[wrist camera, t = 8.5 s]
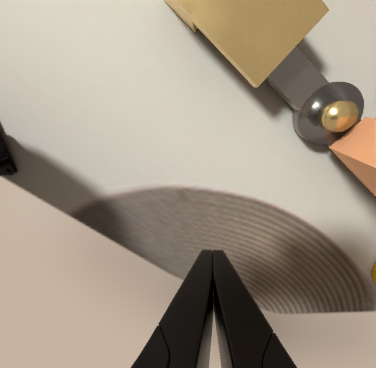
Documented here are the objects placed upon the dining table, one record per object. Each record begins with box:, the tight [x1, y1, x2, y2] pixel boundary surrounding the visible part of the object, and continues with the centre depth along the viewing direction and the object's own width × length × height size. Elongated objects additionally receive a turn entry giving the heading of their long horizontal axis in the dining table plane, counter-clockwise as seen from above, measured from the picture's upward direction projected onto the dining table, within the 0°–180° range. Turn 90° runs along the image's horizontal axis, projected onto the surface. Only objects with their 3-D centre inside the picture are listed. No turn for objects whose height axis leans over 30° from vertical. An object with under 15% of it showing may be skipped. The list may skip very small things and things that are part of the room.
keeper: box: [164, 0, 329, 88], centre depth 12 cm, size 9×5×4 cm, turn 49°
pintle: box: [317, 101, 358, 132], centre depth 14 cm, size 2×2×1 cm
